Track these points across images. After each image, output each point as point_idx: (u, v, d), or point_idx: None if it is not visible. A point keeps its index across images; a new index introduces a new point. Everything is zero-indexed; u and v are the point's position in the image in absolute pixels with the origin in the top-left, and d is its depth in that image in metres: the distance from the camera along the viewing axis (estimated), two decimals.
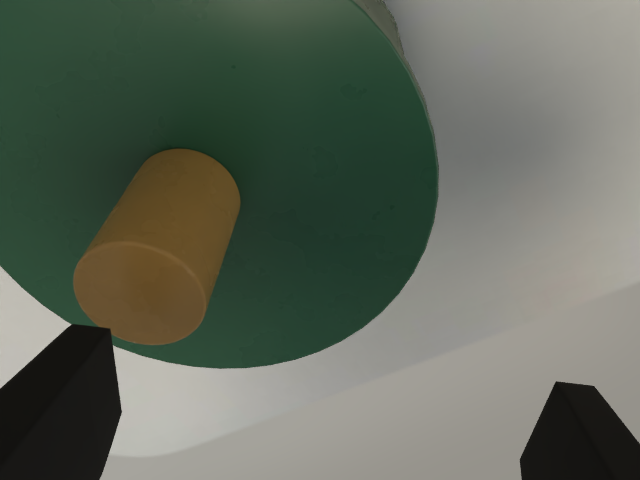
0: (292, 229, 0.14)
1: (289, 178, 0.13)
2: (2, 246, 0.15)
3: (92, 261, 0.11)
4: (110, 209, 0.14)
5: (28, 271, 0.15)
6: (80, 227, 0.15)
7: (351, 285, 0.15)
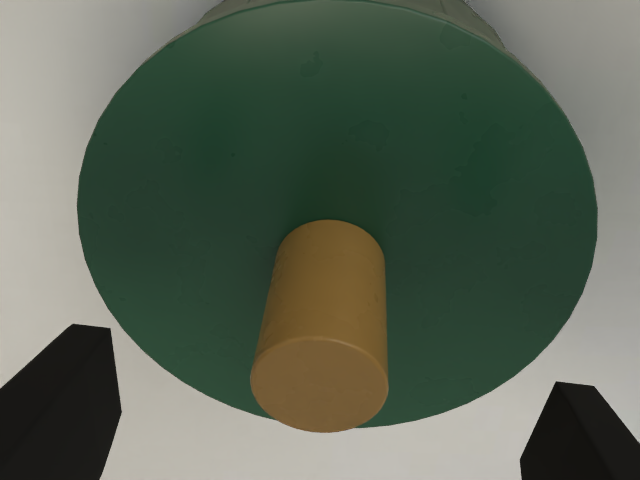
0: (423, 203, 0.12)
1: (365, 174, 0.12)
2: None
3: (261, 394, 0.11)
4: None
5: None
6: None
7: (530, 189, 0.12)
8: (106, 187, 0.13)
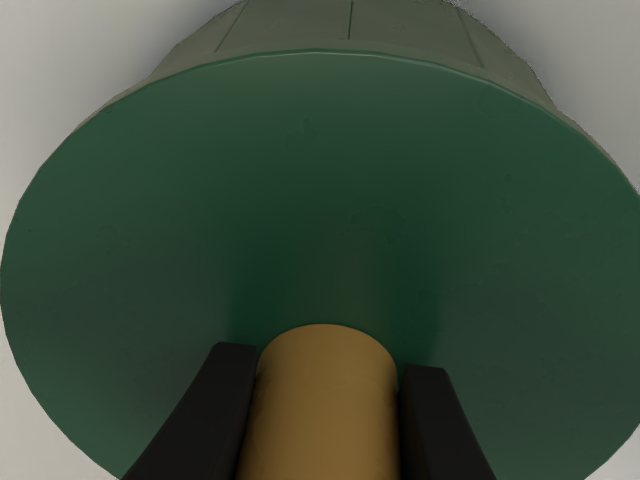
0: (448, 307, 0.10)
1: (374, 271, 0.09)
2: None
3: None
4: None
5: None
6: None
7: (590, 291, 0.09)
8: (35, 283, 0.10)
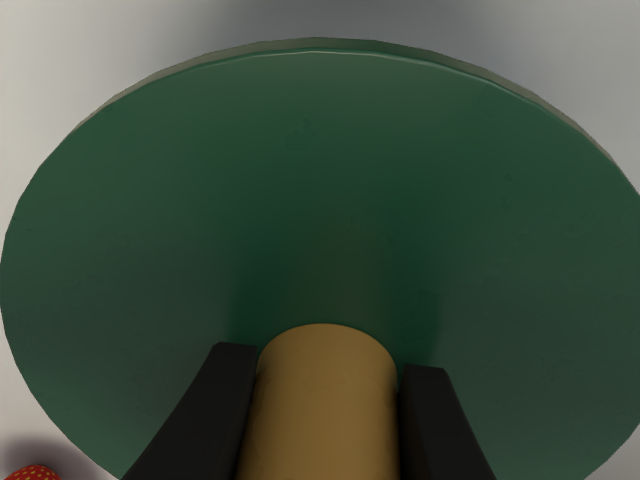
0: (448, 306, 0.10)
1: (373, 270, 0.09)
2: None
3: None
4: None
5: None
6: None
7: (590, 290, 0.09)
8: (35, 282, 0.10)
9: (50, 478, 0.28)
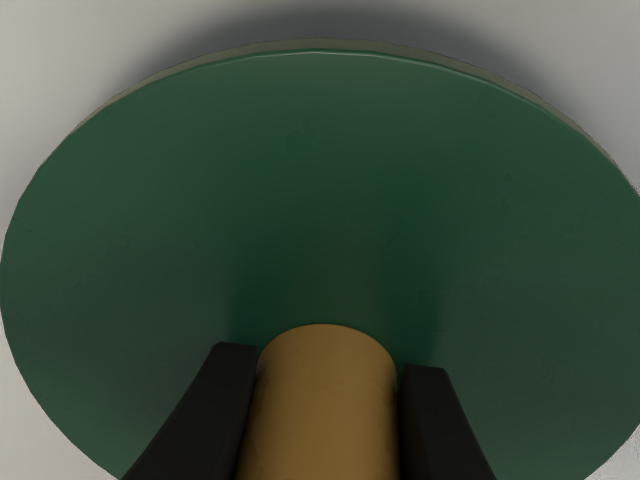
0: (447, 307, 0.10)
1: (373, 271, 0.09)
2: None
3: None
4: None
5: None
6: None
7: (590, 291, 0.09)
8: (35, 283, 0.10)
9: None
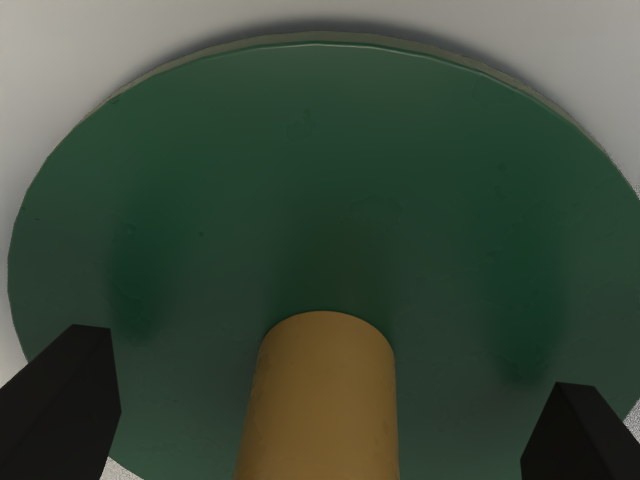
0: (444, 294, 0.10)
1: (371, 259, 0.10)
2: None
3: None
4: None
5: None
6: None
7: (583, 278, 0.09)
8: (43, 270, 0.10)
9: None
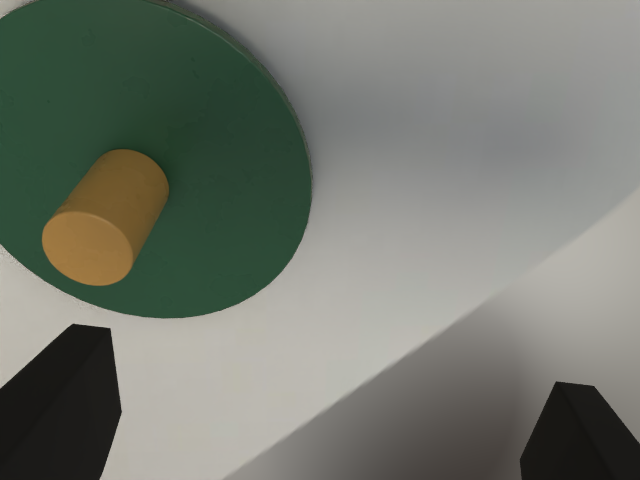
0: (184, 136, 0.18)
1: (140, 115, 0.18)
2: (128, 305, 0.22)
3: (51, 255, 0.16)
4: None
5: (152, 306, 0.22)
6: None
7: (253, 125, 0.18)
8: None
9: None
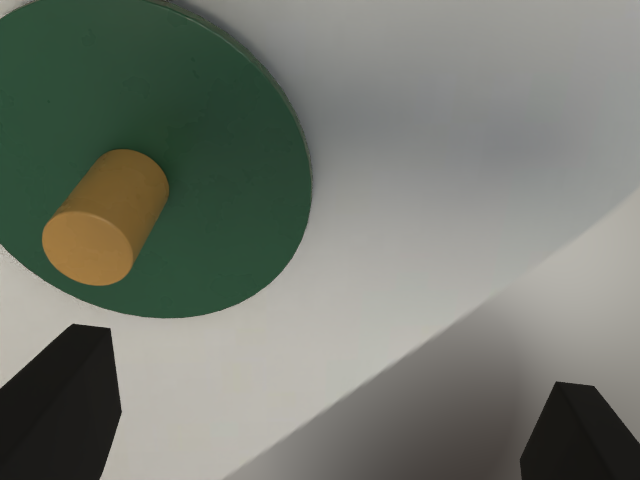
0: (184, 136, 0.18)
1: (140, 115, 0.18)
2: (128, 305, 0.22)
3: (51, 255, 0.16)
4: None
5: (152, 306, 0.22)
6: None
7: (253, 125, 0.18)
8: None
9: None
